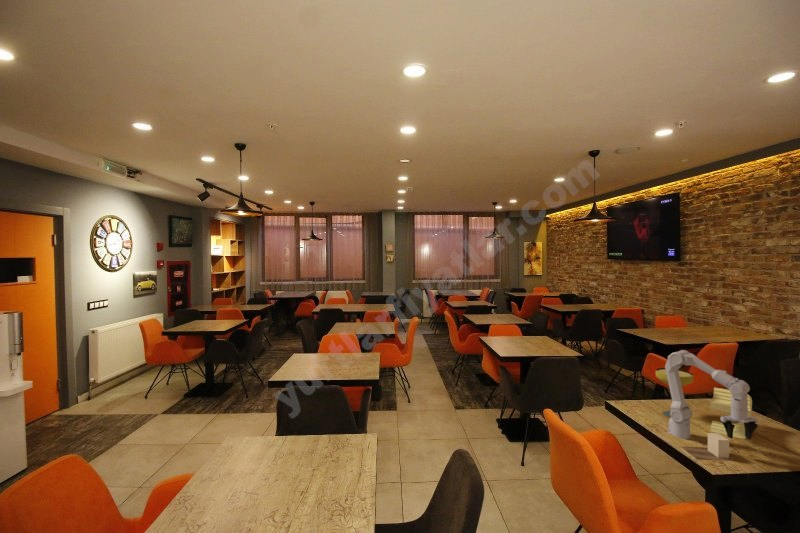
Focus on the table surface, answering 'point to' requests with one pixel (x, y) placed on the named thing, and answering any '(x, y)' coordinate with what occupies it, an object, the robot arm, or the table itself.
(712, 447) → the carton
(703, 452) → the brown flat slab
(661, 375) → the cocktail glass
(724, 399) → the slatted curved stool
